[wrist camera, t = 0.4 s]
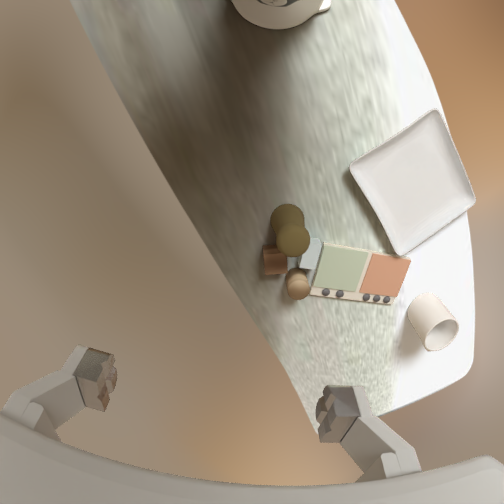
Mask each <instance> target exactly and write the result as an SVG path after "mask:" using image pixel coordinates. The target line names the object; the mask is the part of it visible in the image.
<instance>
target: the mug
mask: <svg viewBox="0 0 504 504" xmlns="http://www.w3.org/2000/svg"><path fill="white" fill-rule="evenodd" d="M408 318H409V320H410V322H411V324H412V325H413V327H414V329H415V330H416V332H417V334H418V335H419V337H420V339H421V341H422V343H423V345H424V347H425V349H426V350H427V351H437V350H441V349H443V348H445V347H446V346H448V345H449V344H450V343H451V342H452V341H453V340H454V338H455V337H456V335H457V333H458V330H459V324H458V322H457V320H456V319H455V318H454V316H453V315H452V314H451V313H450V311H449V310H448V309H447V308H446V306H445V305H444V304H443V303H442V301H441V300H440V299H439V298H438V297H437V296H436V295H435V294H433V293H423V294H421V295H419V296H417V297H416V298H415V299H414V300H413V301H412V302H411V304H410V306H409V308H408Z"/></svg>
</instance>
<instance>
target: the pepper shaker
mask: <svg viewBox="0 0 504 504" xmlns="http://www.w3.org/2000/svg"><path fill="white" fill-rule="evenodd" d="M271 225H272V228H273V230H274V232H275V233H276V235H277V236H276V245H277V248H278V249H279V251H280V252H281V253H282V254H284V255H285V256H288V257H298V256H301V255H302V254H304V253H305V252H306V251H307V249H308V248H309V245H310V236H309V233H308V231H307V230H306V228H305V226H304V215H303V212H302V211H301V210H300V208H298V207H297V206H295V205H292V204H284V205H281V206H279V207H277V208H276V209H275V210H274V211H273V213H272V215H271Z"/></svg>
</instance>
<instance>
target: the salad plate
mask: <svg viewBox="0 0 504 504" xmlns="http://www.w3.org/2000/svg"><path fill="white" fill-rule="evenodd" d="M349 170H350V173H351V174H352V176H353V178H354V179H355V181H356V183H357V184H358V186H359V187H360V189H361V190H362V192H363V194H364V195H365V197H366V198H367V200H368V202H369V203H370V205H371V207H372V208H373V210H374V212H375V213H376V215H377V217H378V219H379V221H380V222H381V224H382V226H383V228H384V230H385V232H386V234H387V236H388V239H389V241H390V243H391V245H392V247H393V249H394V251H395V252H396V254H397V255H398V256H403V255H405V254H406V253H408V252H409V251H411V250H412V249H414V248H415V247H417V246H418V245H419V244H421V243H422V242H424V241H425V240H426V239H428V238H429V237H430V236H432V235H433V234H435V233H436V232H437V231H439V230H440V229H442V228H443V227H444V226H446V225H447V224H448V223H450V222H451V221H453V220H454V219H455V218H457V217H458V216H460V215H461V214H462V213H464V212H465V211H466V210H468V209H469V208H470V207H472V206H473V205H474V204H475V202H476V198H475V195H474V192H473V189H472V186H471V184H470V181H469V178H468V176H467V173H466V171H465V168H464V166H463V163H462V161H461V159H460V157H459V154H458V152H457V149H456V147H455V144H454V142H453V140H452V137H451V135H450V132H449V130H448V128H447V126H446V123H445V121H444V119H443V117H442V115H441V114H440V112H439V110H438V109H432V110H430V111H428V112H426V113H425V114H423V115H422V116H421V117H419V118H418V119H417V120H415V121H414V122H413V123H411V124H410V125H408V126H407V127H406V128H404V129H403V130H401V131H400V132H398V133H397V134H395V135H394V136H392V137H391V138H389V139H388V140H386V141H384V142H383V143H381V144H380V145H378V146H376V147H375V148H373V149H371V150H369V151H368V152H366V153H364V154H363V155H361V156H360V157H358V158H357V159H355V160H354V161H352V162H351V164H350V165H349Z"/></svg>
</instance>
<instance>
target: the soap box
mask: <svg viewBox="0 0 504 504" xmlns="http://www.w3.org/2000/svg"><path fill="white" fill-rule="evenodd" d="M321 246H322V244H321V242H320V240H319V239H317V238H311V237H310V245H309V248H308V249H307V251H306V252H305V253H304V254H302V255H301V256H298V260H297V261H298V265H299V268H306V269H313V270H315V269H316V265H317V261H318V258H319V254H320V250H321Z"/></svg>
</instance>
